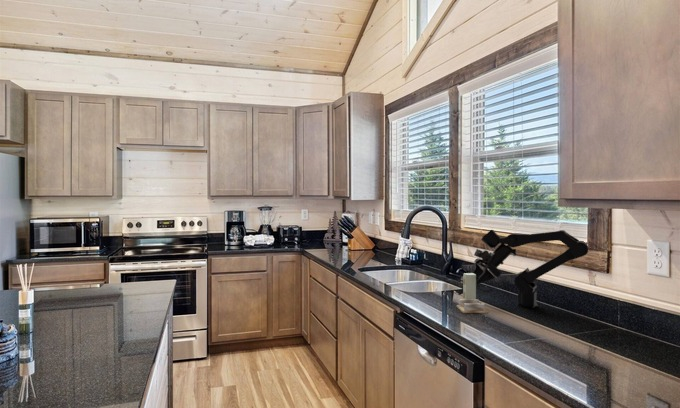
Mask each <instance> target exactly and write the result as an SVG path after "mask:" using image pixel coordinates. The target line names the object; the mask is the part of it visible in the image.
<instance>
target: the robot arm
mask: <svg viewBox="0 0 680 408" xmlns="http://www.w3.org/2000/svg"><path fill="white" fill-rule="evenodd" d="M480 241H481V242H483V243H484V245H486V246H487V247H488V248H490V249H495V250H494V251H492V252H489V251H488V250H486V249H483V250H481V249H479V248H476V250H475V252H474V254H473V256H475V257H477V258H475V260H474V261H473V264H474V268H473V270H472V272H471V273H474V274H476V278H477V279H476V285H479V284H482V283H484V282H487V281H491V280H494V279H496V278H497V279H498V278H500V276H501V275H502V272H501V271H500V269H498V267H499V266H500V265H503V264H504V262H505V260H507V258H509V256H510V255H512V256H513V257H516V255H517V249H513V248H517V247H521V246H524V245H528V244H533V243H534V244H535V243H542V242H543V243H544V242H553V241H554V242H555V241H560V242H561V243H563V244H564V245H565V246H567V249H566V250H565V251H563V252H562V253H560V254H558V255H557V256H555V257H553V258H551V259H549V260H548V261H546V262H545V263H543V264H540V265H539V266H537V267H536V268H533V269H529V267H527V268H526V269H524V270H523V271H519V272H518V273H516V277H515V278H514V284H515V286H516V287H517V288H518V293H517V305H516V306H517V307H524V308H530V309H533V308H535V307H538V306H539V304H537V291H536V290H537V284H536V283H535V281H536V280H537V279H538V278H540V277H542V276H543V275H545V274H547V273H549V272H551V271H553V270H554V269H556V268H558V267H559V266H562V265H564V264H565V263H567V262H569V261H572V260H575V259H579V258H583V257H585V256H586V255H587V254H588V253H589V251H588V246H587V244H588V243H587V242H586V241H585V242H586V243H587V244H586V243H585V242H584V240H580V239H578V238H576V237H575V236H573V235H572V234H570V233H568V232H567V231H565V230H563V229H561V230H555V231H547V232H537V233H522V232H513V233H510V234H508V235H507V236H502V237H501V236H500V235H499V234H498V233H497V232H496V231H495V230H494V229H490V230H489V231H488V232H487V233H485V234H484V235H483V236H482V238H481V240H480Z"/></svg>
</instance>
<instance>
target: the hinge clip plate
mask: <svg viewBox="0 0 680 408" xmlns="http://www.w3.org/2000/svg"><path fill="white" fill-rule="evenodd" d="M456 308H457V309H458V310H459V311H460V312H461V313H463V314H475V313H476V314H479V313H480V314H485V313H487V314H488V312H489V310H488V309H486V303H480V299H478V298H476V299H463V298H462V299H458V304H456Z"/></svg>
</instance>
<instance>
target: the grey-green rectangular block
mask: <svg viewBox="0 0 680 408" xmlns="http://www.w3.org/2000/svg"><path fill="white" fill-rule="evenodd" d="M462 276H463V278H462V286H463V288H462V289H463V290H462V299H477V283H476V281H477V277H476V274H474V273H472V272H466V273H465V272H464V273H463V275H462Z"/></svg>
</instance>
